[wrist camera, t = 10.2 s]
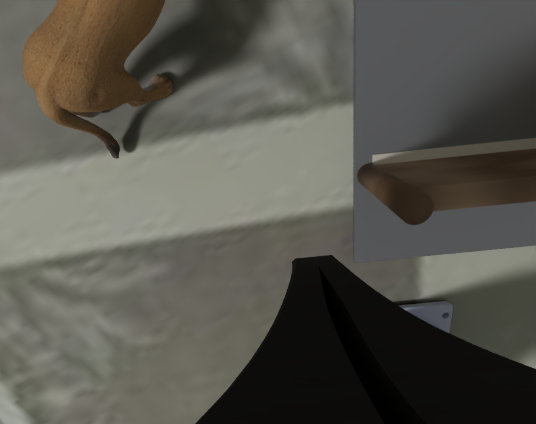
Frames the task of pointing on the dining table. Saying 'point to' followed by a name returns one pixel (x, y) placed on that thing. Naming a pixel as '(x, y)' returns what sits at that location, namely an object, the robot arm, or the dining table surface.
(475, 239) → the card
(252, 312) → the dining table surface
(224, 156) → the dining table surface
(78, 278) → the dining table surface
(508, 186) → the fence
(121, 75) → the lion figurine
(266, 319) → the dining table surface
